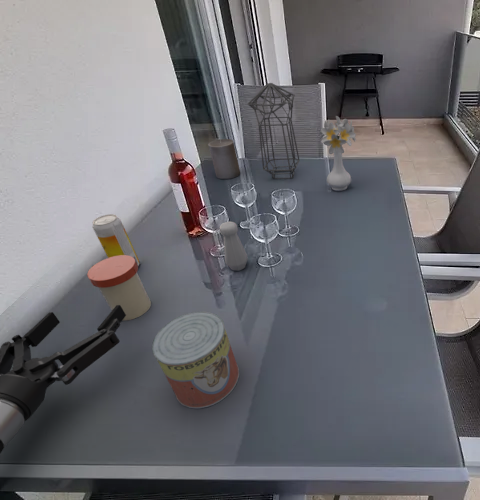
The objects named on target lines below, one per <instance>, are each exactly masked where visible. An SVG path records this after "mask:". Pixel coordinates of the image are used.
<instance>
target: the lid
mask: <svg viewBox="0 0 480 500" xmlns="http://www.w3.org/2000/svg"><path fill="white" fill-rule="evenodd" d="M138 271H139V266H138V265H137V263H136V261H135V259H134V258H133V257H131V256H128V255H119V256H114V257H110V258H108V257H107V258H104V259H103V260H102V259H101V260H100V261H98V262H97V263H95V264H94V265H92V266H91V267H90V268H89V269H88V271H87V275H86V276H87V278H88V280H89V282H90V283H91V285H92V286H93V287H96V288H98V287H100V288H105V287H112V286H116V285H119V284H121V283H123V282H125V281H127V280H129V279H130V278H132V277H133V276H134V275H135V274H136V273H138Z"/></svg>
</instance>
